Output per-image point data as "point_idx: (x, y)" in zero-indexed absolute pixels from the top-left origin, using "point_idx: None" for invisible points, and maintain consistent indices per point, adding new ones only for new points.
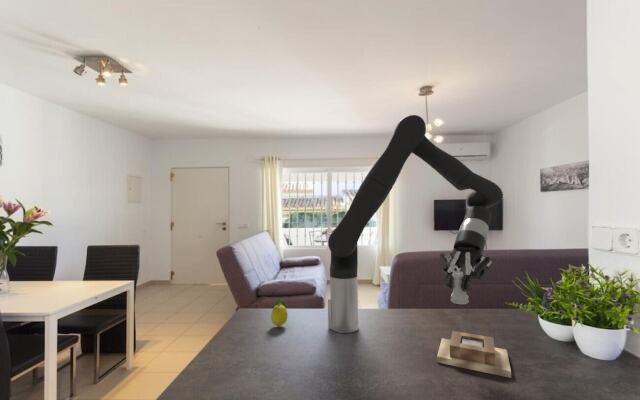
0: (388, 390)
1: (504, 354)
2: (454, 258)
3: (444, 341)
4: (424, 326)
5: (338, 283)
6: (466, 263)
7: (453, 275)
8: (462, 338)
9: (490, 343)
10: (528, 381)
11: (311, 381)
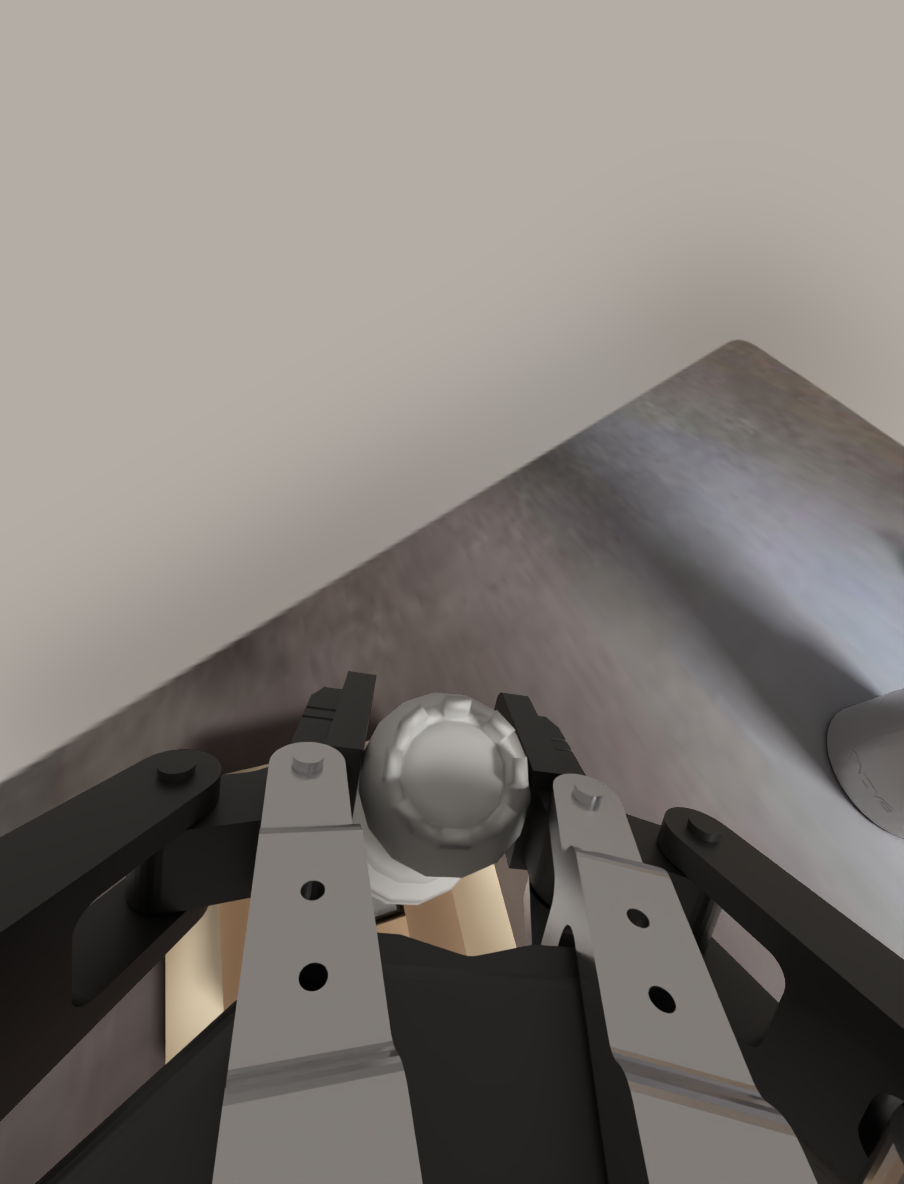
0: (487, 505)
1: (182, 980)
2: (693, 1003)
3: (489, 911)
4: None
5: None
6: (342, 869)
7: (486, 707)
8: (395, 904)
9: (239, 911)
10: None
11: (632, 451)
